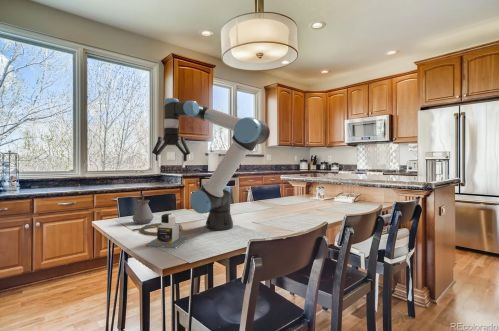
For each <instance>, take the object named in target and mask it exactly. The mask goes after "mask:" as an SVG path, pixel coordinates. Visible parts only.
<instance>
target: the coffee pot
mask: <svg viewBox="0 0 499 331" xmlns="http://www.w3.org/2000/svg"><path fill="white" fill-rule="evenodd" d="M140 196H141V199H138V200H137V207H136V209H135V212H134V213H133V215H132V221H133V222H135V224H137V223H138V224H137V225H147V224H149V223H151V222H152V221H153V219H154V215H153V212H152V210H151V208H150V205H149V203H150V200H149V199H145V193H141V195H140ZM146 223H147V224H146Z"/></svg>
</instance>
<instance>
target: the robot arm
mask: <svg viewBox="0 0 499 331" xmlns="http://www.w3.org/2000/svg"><path fill="white" fill-rule="evenodd" d="M163 104H164V105H163V109H164V110H163V115H164V118H163V119H164V120H163V127H164V128H163V136H157V141H156V143H155V146H154V147H153V149H152V151H151V153H152V154H154V155H155V161H156V162H157V163H156V165H157V166H156V167H157V168H161V166H162V164H161V162H162V159H161V158H162V155H161V153H162V152H163V151H164V149H165V148H166V146H176V147H177V148H178V150H179V151H180V152H181V153H182V156H181V168H183V169H184V168H185V167H186V162H187V160H188V159H187V158H188V157H187V156H188V155H191V151H190V149H189V147H188V145H187V143H186V140H185V137H184V136H179V131H180V130H179V125H180V124H179V123H180V122H179V120H180V117H190V118H193V119H198V120H202V121H204V122H207V123H210V124H213V125H215V126H218V127H221V128H224V129H226V130H229V131H232V132H233V136H232V137H231V140H232V143H231V144H230V146H229V148H228V149H227V150H226V153H225V154H224V156H223V157H222V158H221V161H220V162H219V164H218V165H217V167H216V168H215V170H214V171H213V173H212V175H211V176H210V178H209V180H208V181H204V182H203V183H202V185H201V186H200V188H199V189H198V190H195V191H194V192H192V194H191V195H190V205H191V207H192V209H193V210H194V211H195V212H196V213H198V214H207V213H208V215H207V218H206V221H205V228H206V229H209V230H213V231H226V230H231V229H233V228H232V227H234V221H233V218H232V215H231V194H232V192H231V187H230V186H229V185H227V184H228V183H230V180H231V179H232V177H233V175H234V174H235V172H236V171H237V169H238V168H239V166H240V165H241V163H242V162H243V161H244V159H245V158H246V156H247V154H248V153H251V152H253V150H255V148H256V147H257V145H261V144H264V143H265V142H267V141H268V139H269V137H270V135H271V130H270V127H269V125H268V124H267V123H266V122H264V120H259V119H258V118H255V117H243V118H241V117H238V116H235V115H232V114H228V113H226V112H222V111H219V110H217V109H214V108H210V107H208V106H205V105H201V104H199V103H198V102H197V101H195V100H185V101H179V99H178V98H174V97H167V98H165V99H164V103H163ZM162 141H164V142H163V143H162ZM179 141H180V142H181V144H182V145H181V144H180V143H179ZM161 144H162V145H161ZM182 146H183V147H182ZM230 228H231V229H230ZM225 229H226V230H225Z"/></svg>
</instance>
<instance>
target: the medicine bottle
mask: <svg viewBox="0 0 499 331" xmlns="http://www.w3.org/2000/svg"><path fill="white" fill-rule="evenodd" d="M160 220H161V222H160V223H161V224H162V225H160V226H156V227H157V228H156V232H157V235H156V238H157V242H160V243H173V242H175V241H176V240H178V239H179V237H180V236H179V235H180V231H179V223H176V214H174V213H163V214H162V215H161V218H160ZM175 223H176V224H175Z"/></svg>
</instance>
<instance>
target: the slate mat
mask: <svg viewBox="0 0 499 331" xmlns="http://www.w3.org/2000/svg"><path fill="white" fill-rule="evenodd" d="M186 239H187V240H188V239H189V237H188V236H179V239H178V240H176V241H175V242H173V243H160V242H157V237H156V238H154V239H152V240H150V241H149V242H148V243H146V244H145V247H154V246H164V247H163V248H169V247H177V246H178V247H180V246H181V245H182V244H183V243H185V242H186V241H187V240H186ZM185 240H186V241H185ZM184 241H185V242H184ZM181 243H182V244H181ZM180 244H181V245H180ZM179 245H180V246H179ZM178 247H177V248H178Z"/></svg>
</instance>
